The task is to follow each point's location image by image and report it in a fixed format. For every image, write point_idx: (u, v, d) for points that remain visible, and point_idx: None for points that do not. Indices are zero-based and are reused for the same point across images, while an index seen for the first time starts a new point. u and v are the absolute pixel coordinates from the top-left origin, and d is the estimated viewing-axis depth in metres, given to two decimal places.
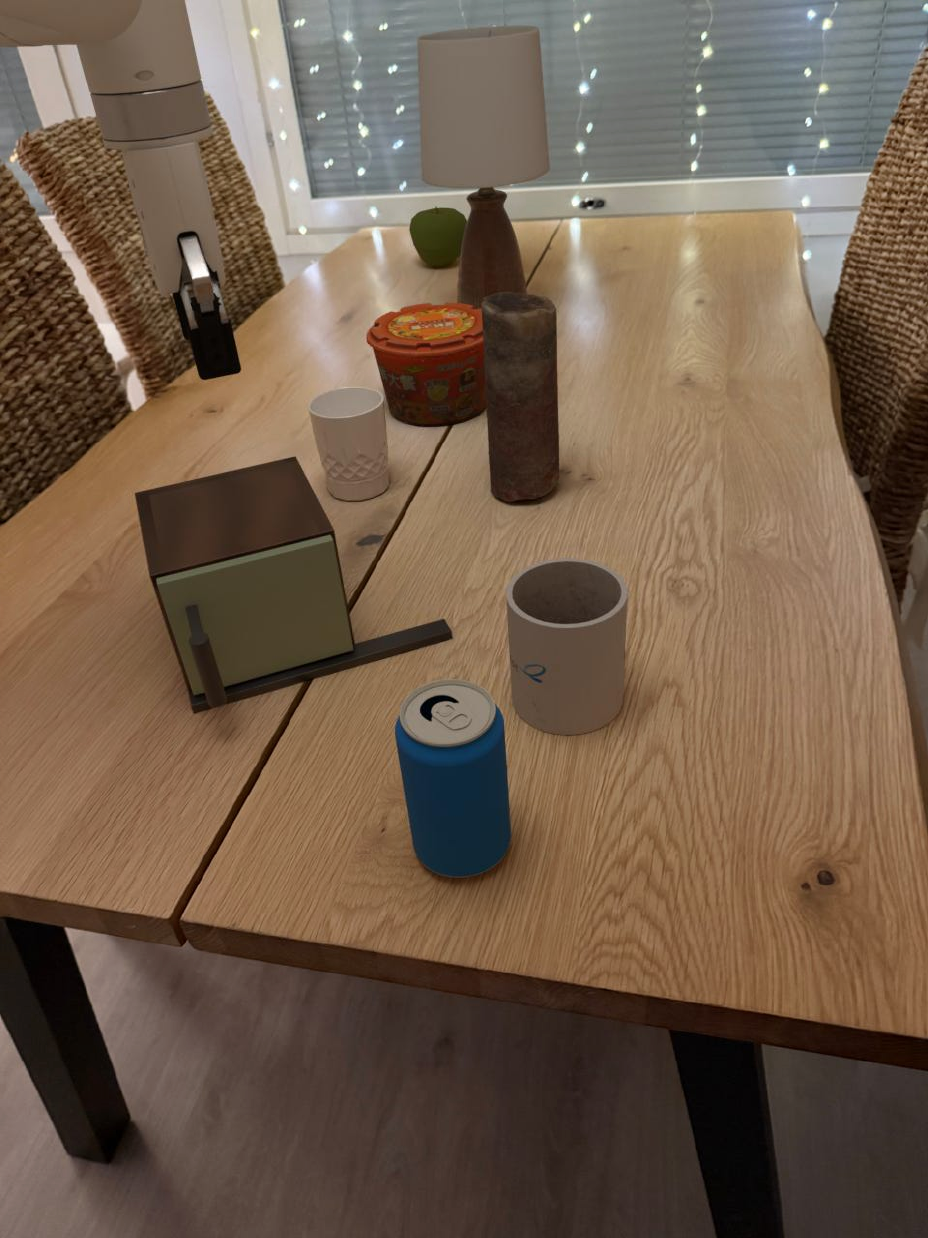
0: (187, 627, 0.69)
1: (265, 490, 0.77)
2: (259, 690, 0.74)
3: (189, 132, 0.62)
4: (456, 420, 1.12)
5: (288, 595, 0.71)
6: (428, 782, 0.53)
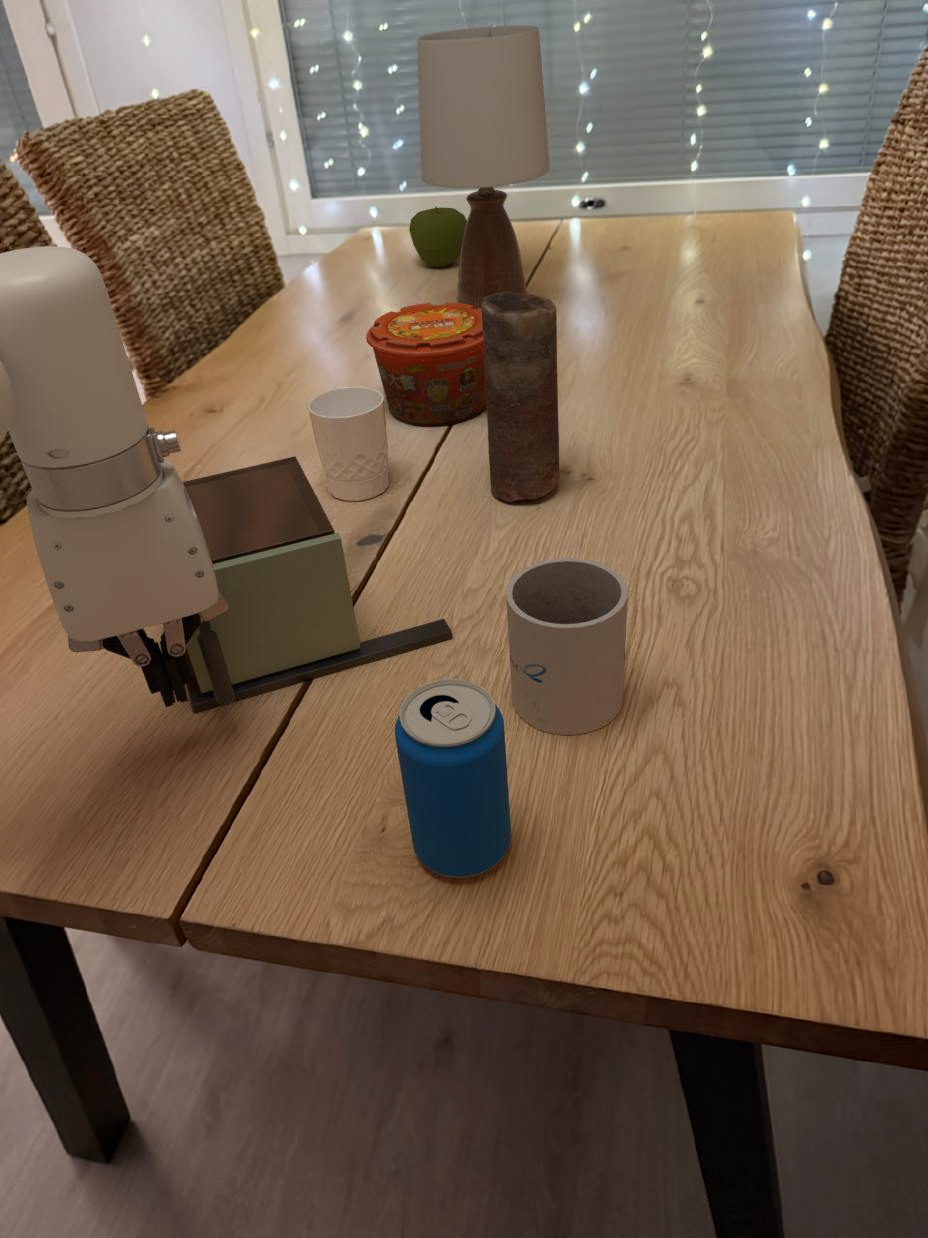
0: None
1: (265, 490, 0.77)
2: (259, 690, 0.74)
3: (44, 505, 0.54)
4: (456, 420, 1.12)
5: (296, 593, 0.71)
6: (428, 782, 0.53)
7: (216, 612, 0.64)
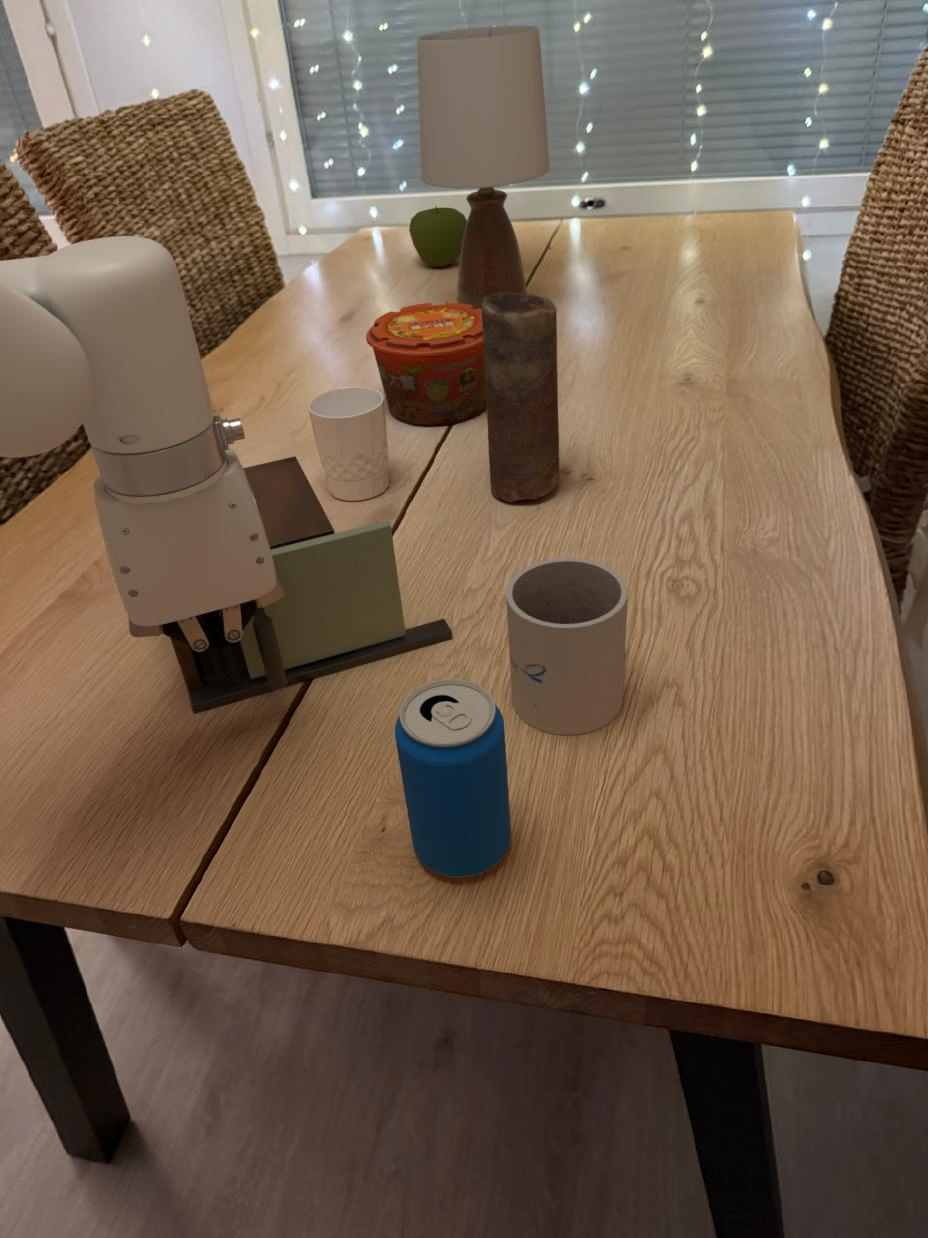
0: None
1: (265, 490, 0.77)
2: (259, 690, 0.74)
3: (113, 491, 0.55)
4: (456, 420, 1.12)
5: (345, 580, 0.72)
6: (428, 782, 0.53)
7: (272, 598, 0.65)
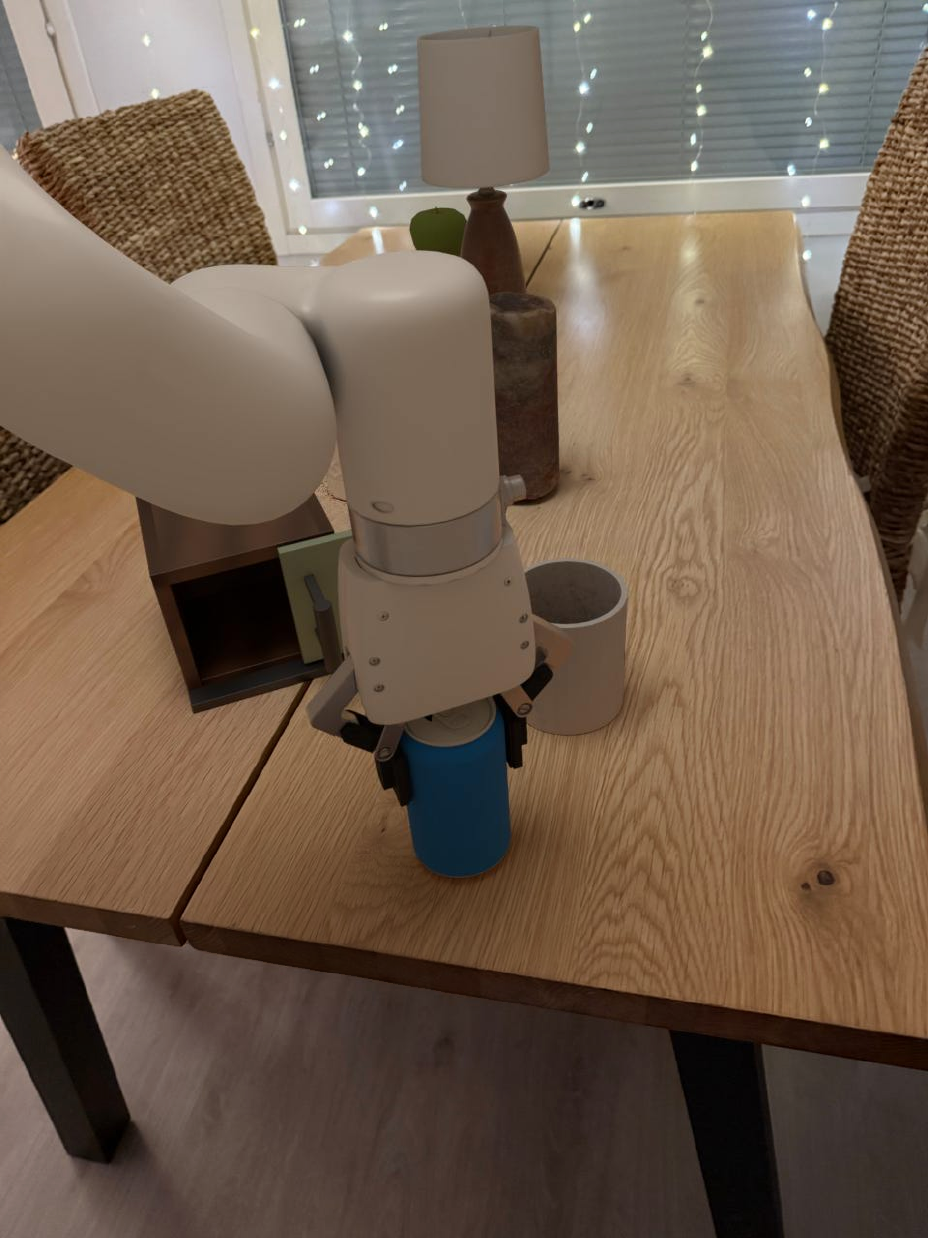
0: (304, 596, 0.72)
1: None
2: (259, 690, 0.74)
3: (376, 568, 0.44)
4: None
5: None
6: (428, 782, 0.53)
7: (564, 654, 0.54)
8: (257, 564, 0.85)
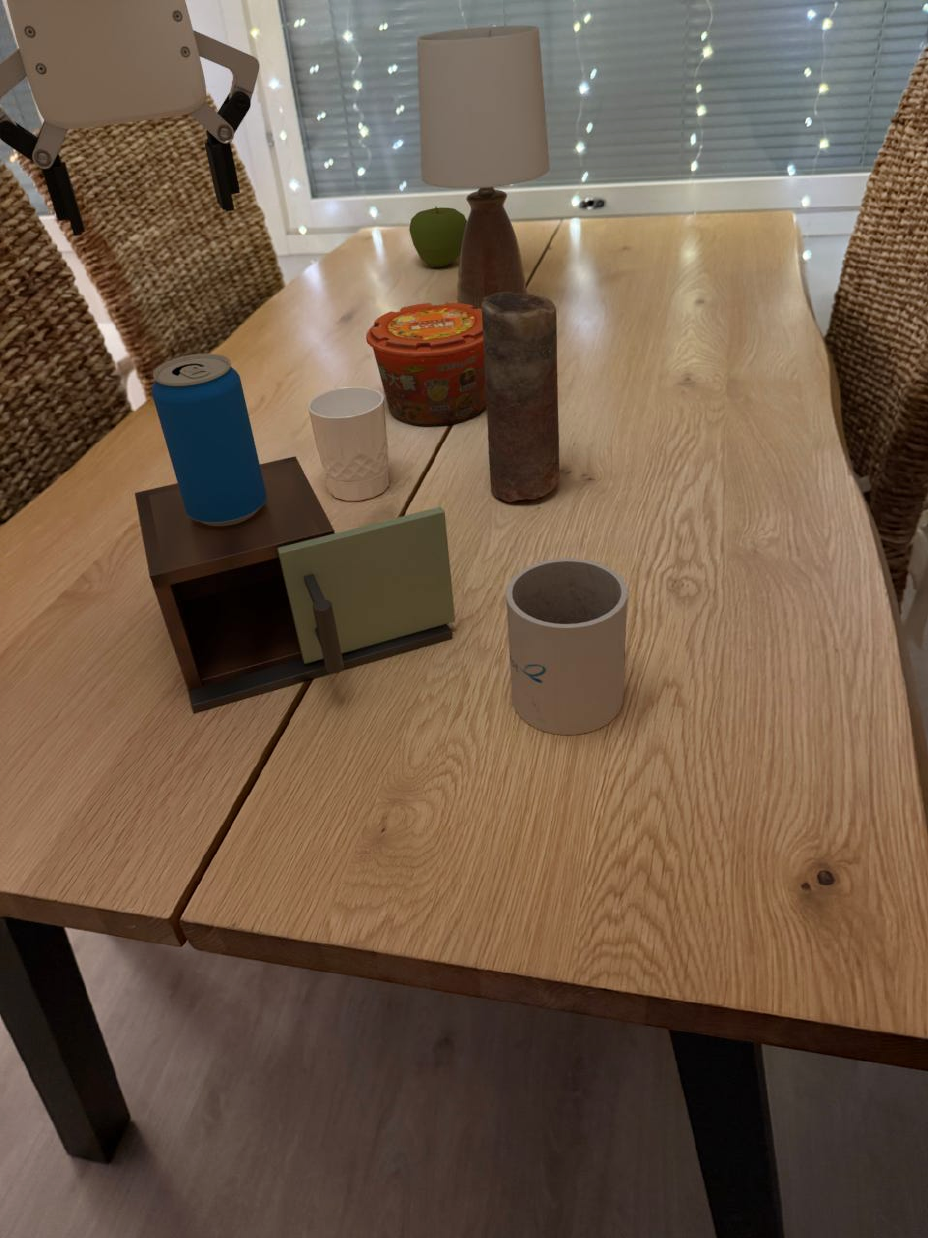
0: (304, 596, 0.72)
1: None
2: (259, 690, 0.74)
3: None
4: (456, 420, 1.12)
5: (399, 566, 0.73)
6: (174, 422, 0.67)
7: (252, 74, 0.58)
8: (257, 564, 0.85)
